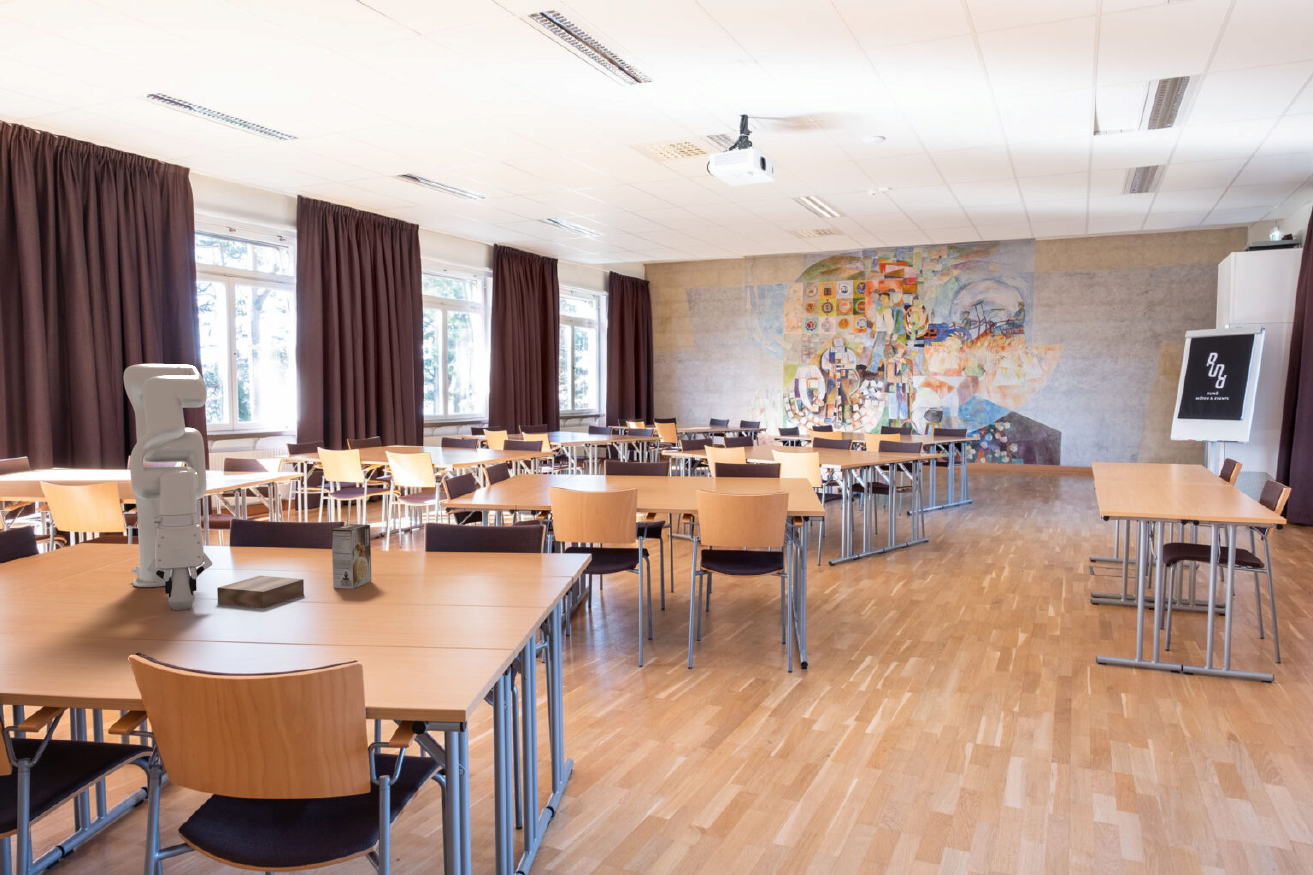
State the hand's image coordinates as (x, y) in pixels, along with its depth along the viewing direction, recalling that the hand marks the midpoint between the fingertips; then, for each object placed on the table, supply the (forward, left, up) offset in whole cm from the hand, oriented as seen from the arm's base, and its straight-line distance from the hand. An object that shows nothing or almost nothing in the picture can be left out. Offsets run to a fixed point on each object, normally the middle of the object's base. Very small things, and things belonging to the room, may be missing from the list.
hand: (181, 594), depth 202 cm
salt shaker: (0, 0, -3) cm, 3 cm away
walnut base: (+12, +13, -3) cm, 18 cm away
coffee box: (+24, +33, -3) cm, 41 cm away
